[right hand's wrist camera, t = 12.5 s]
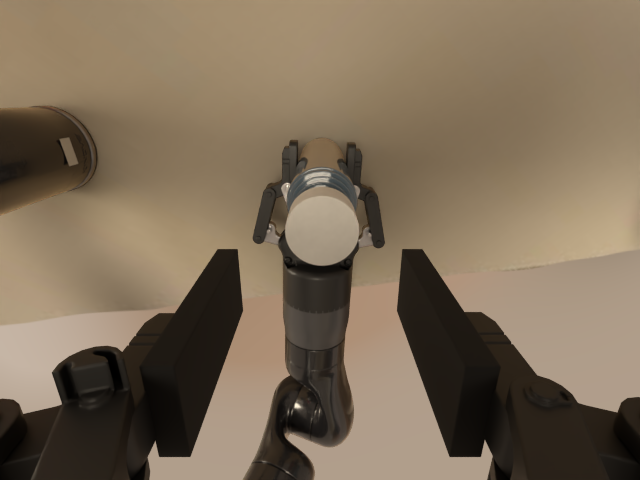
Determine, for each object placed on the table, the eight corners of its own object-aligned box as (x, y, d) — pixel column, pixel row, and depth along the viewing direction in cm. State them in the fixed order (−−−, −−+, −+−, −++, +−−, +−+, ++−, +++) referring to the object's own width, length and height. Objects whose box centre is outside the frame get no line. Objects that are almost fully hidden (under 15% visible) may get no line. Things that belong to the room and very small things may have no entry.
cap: (276, 231, 22) (271, 244, 20) (308, 173, 21) (307, 181, 19) (333, 261, 23) (335, 277, 21) (368, 207, 21) (373, 219, 19)
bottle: (292, 167, 43) (262, 244, 20) (313, 129, 41) (304, 168, 19) (329, 187, 44) (337, 284, 21) (350, 151, 42) (384, 213, 20)
